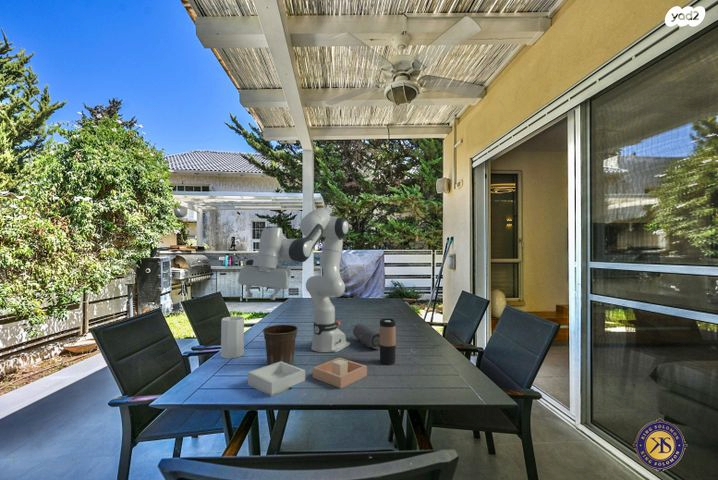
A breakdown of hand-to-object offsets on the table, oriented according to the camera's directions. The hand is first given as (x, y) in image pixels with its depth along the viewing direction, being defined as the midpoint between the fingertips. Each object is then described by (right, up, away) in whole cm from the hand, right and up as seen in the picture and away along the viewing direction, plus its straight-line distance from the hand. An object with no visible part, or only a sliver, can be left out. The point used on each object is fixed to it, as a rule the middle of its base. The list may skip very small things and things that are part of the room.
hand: (260, 298), depth 128 cm
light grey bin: (+6, -35, +1) cm, 35 cm away
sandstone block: (+31, -34, +6) cm, 46 cm away
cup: (-25, -35, +35) cm, 55 cm away
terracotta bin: (+31, -35, +6) cm, 47 cm away
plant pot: (+2, -35, +24) cm, 43 cm away
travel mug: (+53, -35, +26) cm, 69 cm away
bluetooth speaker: (+44, -36, +53) cm, 78 cm away
